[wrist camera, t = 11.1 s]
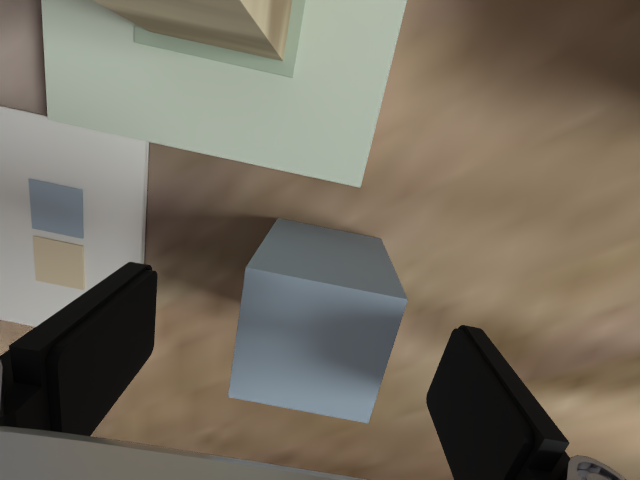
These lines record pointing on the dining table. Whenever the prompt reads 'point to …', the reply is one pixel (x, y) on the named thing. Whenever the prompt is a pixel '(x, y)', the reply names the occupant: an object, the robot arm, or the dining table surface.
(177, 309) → the dining table surface
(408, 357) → the dining table surface
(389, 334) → the slate block
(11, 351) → the robot arm
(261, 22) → the maple block
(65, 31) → the board
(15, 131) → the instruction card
